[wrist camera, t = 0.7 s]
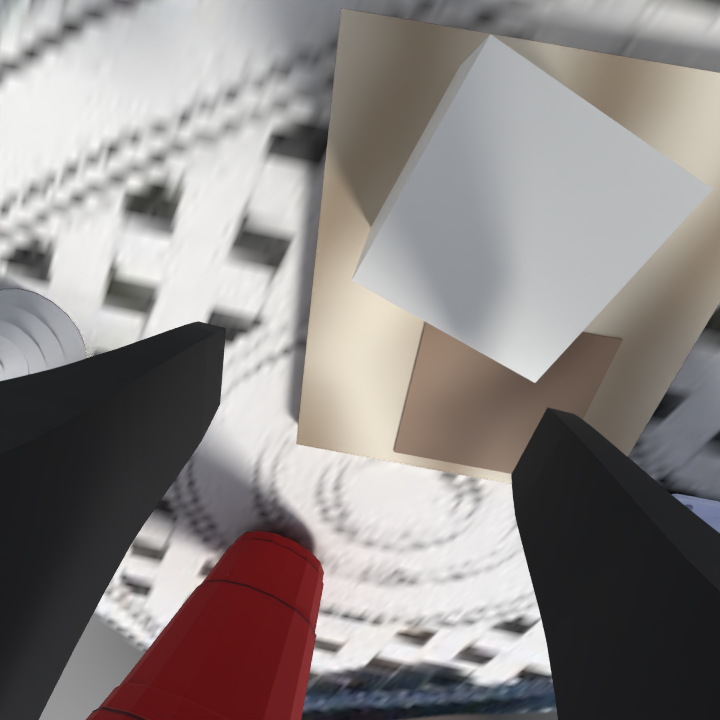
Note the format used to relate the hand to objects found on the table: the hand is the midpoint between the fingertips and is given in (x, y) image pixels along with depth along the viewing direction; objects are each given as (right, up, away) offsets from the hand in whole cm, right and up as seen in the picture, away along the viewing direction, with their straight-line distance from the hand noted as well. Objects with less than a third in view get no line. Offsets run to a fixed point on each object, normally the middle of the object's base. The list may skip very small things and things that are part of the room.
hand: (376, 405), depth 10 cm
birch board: (+5, +3, +8) cm, 11 cm away
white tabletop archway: (+4, +7, +6) cm, 9 cm away
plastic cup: (-5, -11, +17) cm, 21 cm away
